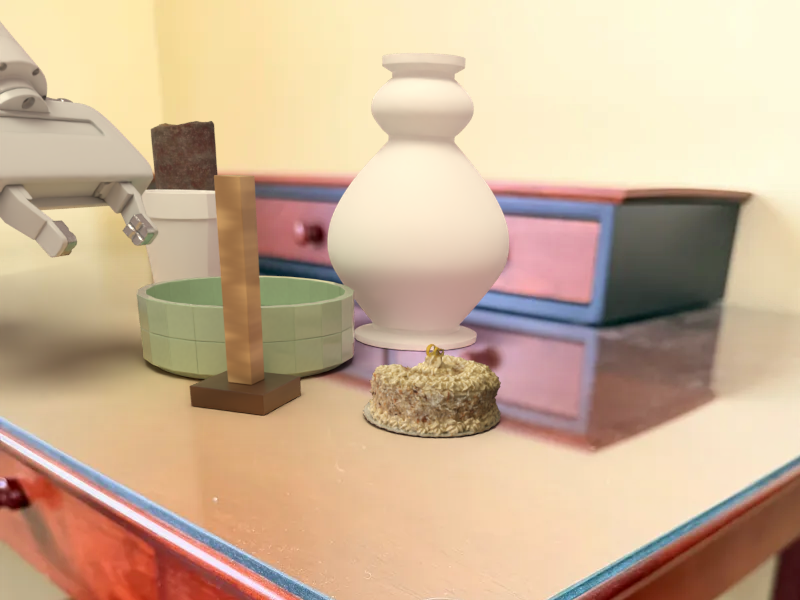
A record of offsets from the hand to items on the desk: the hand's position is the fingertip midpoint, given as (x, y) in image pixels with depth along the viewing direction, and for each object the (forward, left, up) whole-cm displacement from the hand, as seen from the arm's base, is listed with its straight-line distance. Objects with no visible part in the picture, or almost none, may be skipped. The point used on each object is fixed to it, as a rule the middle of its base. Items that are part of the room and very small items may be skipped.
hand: (110, 245), depth 60 cm
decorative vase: (+23, +21, -11) cm, 33 cm away
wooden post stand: (+10, -4, -10) cm, 15 cm away
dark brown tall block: (-4, +40, -11) cm, 42 cm away
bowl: (+8, +10, -10) cm, 17 cm away
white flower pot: (-2, +29, -11) cm, 31 cm away
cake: (+24, -7, -11) cm, 27 cm away
